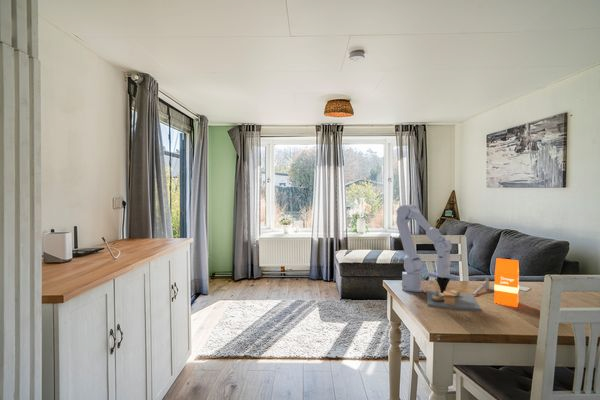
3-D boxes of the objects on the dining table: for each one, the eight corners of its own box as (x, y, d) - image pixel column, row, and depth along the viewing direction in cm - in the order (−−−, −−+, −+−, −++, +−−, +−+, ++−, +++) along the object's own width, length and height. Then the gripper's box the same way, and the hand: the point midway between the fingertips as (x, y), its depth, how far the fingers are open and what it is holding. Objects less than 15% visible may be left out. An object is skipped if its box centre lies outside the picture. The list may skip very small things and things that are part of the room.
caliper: (486, 288, 173) (486, 276, 173) (489, 289, 172) (489, 277, 172) (471, 296, 160) (471, 284, 159) (473, 297, 159) (474, 284, 159)
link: (438, 301, 148) (438, 293, 148) (430, 299, 151) (430, 291, 151) (462, 295, 157) (462, 287, 157) (454, 292, 160) (454, 285, 160)
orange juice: (517, 307, 144) (518, 261, 144) (494, 303, 150) (494, 259, 149) (518, 302, 151) (519, 259, 150) (496, 298, 156) (496, 256, 156)
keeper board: (428, 306, 146) (428, 295, 146) (426, 292, 166) (426, 282, 166) (481, 311, 139) (481, 300, 139) (472, 296, 159) (472, 286, 159)
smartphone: (525, 291, 167) (494, 283, 179) (525, 293, 167) (494, 285, 179) (531, 288, 172) (500, 281, 184) (531, 290, 172) (500, 283, 184)
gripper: (425, 264, 160) (425, 292, 160) (457, 268, 151) (457, 298, 152) (429, 262, 166) (429, 289, 166) (461, 266, 157) (460, 294, 157)
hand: (443, 293), depth 159 cm, fingers closed
